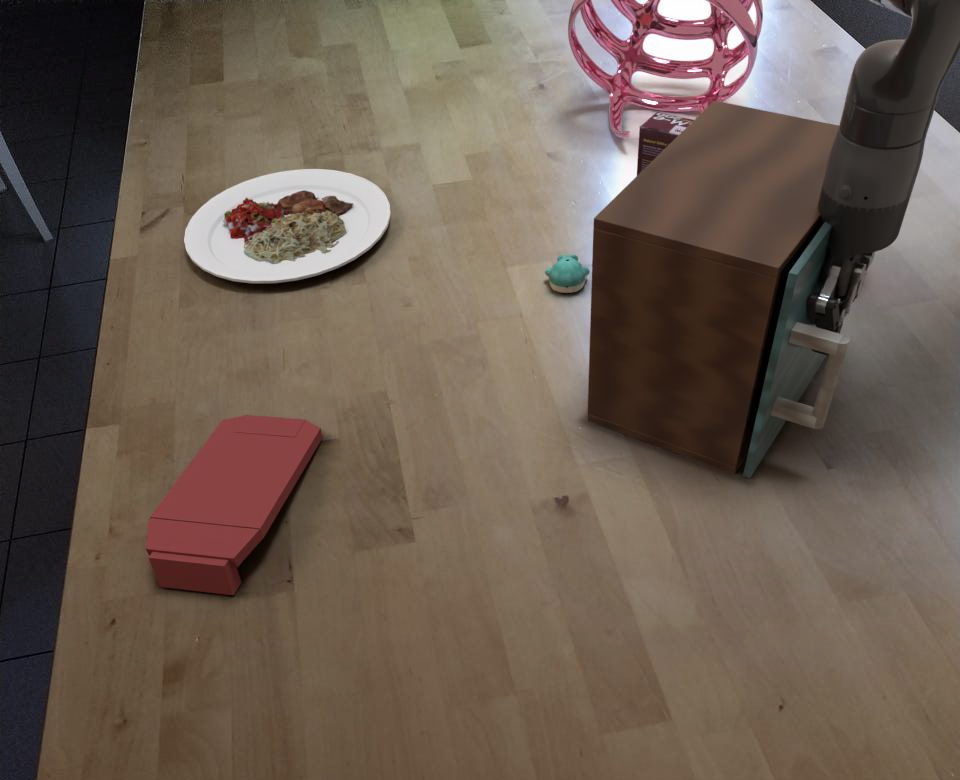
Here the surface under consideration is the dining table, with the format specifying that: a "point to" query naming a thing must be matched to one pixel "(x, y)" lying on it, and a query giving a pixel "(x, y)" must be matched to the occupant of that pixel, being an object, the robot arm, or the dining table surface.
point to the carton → (227, 501)
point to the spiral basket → (726, 12)
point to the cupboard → (701, 279)
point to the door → (797, 357)
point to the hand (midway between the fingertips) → (822, 349)
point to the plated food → (287, 226)
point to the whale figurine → (567, 274)
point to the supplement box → (658, 136)
